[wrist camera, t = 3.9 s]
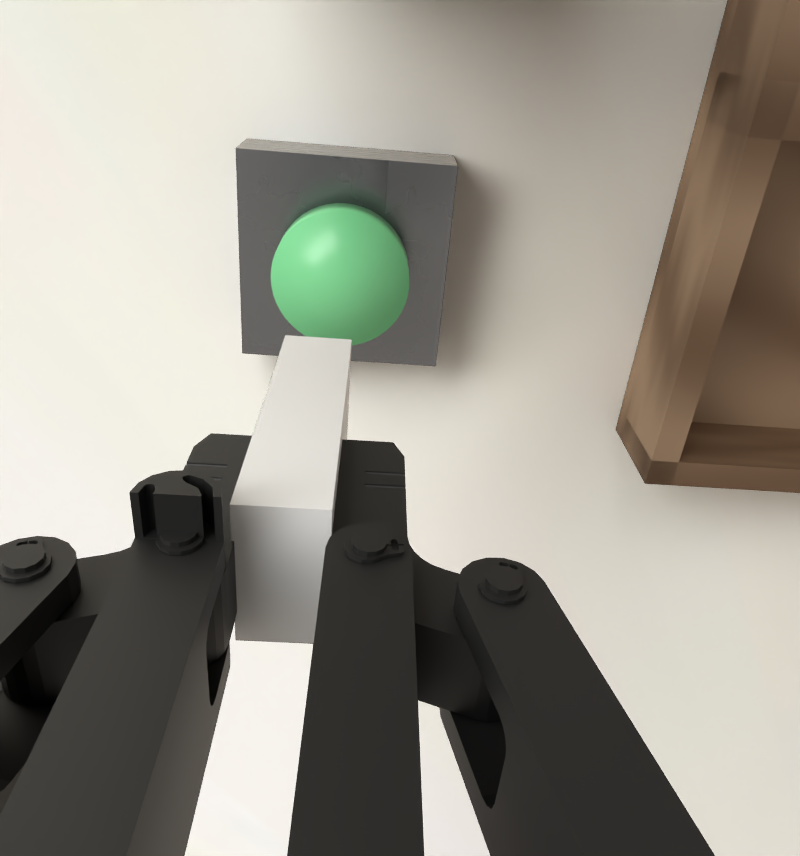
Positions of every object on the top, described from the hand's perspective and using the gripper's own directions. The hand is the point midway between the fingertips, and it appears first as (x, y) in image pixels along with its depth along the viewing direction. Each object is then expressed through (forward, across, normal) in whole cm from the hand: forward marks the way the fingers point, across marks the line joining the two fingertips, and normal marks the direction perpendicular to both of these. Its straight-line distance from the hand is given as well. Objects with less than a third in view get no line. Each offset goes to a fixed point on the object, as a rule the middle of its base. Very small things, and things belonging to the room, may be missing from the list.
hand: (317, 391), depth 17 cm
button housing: (+11, 0, 0) cm, 11 cm away
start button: (+10, 0, 0) cm, 10 cm away
